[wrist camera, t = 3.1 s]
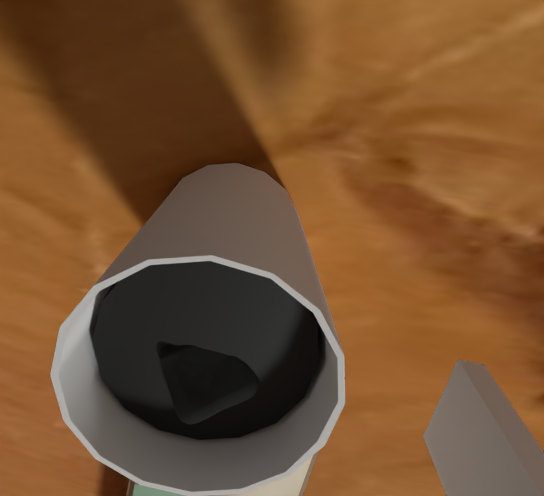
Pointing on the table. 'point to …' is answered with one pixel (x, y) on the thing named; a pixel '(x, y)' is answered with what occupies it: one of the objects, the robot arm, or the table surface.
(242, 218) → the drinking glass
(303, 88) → the table surface
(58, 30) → the table surface
